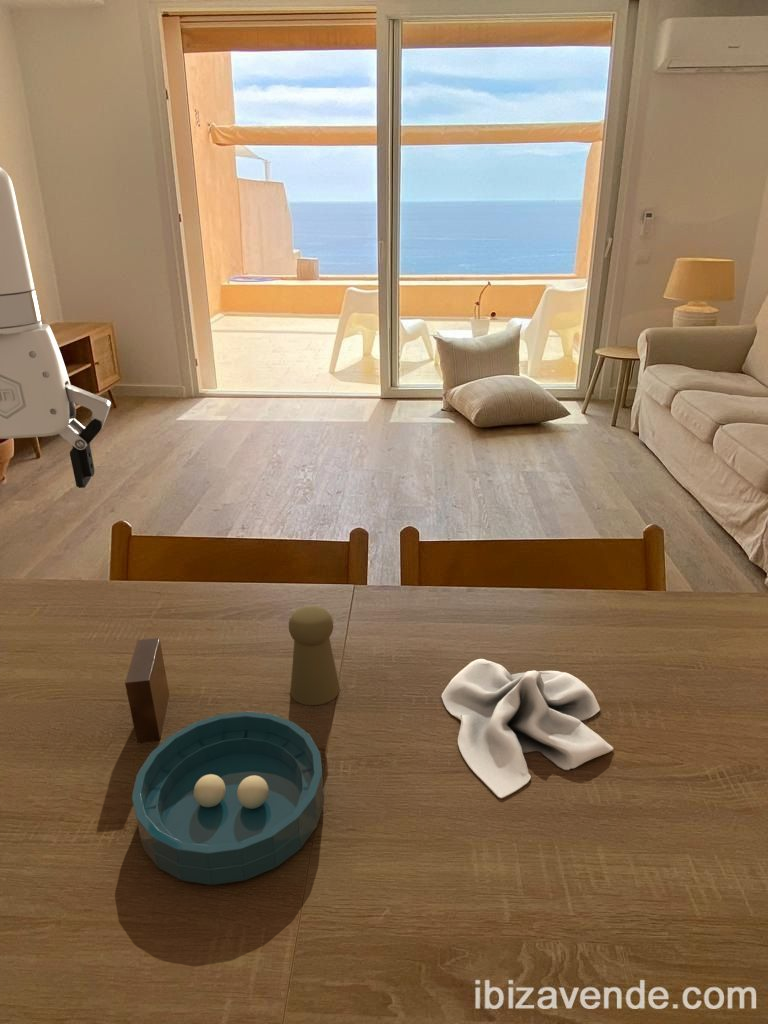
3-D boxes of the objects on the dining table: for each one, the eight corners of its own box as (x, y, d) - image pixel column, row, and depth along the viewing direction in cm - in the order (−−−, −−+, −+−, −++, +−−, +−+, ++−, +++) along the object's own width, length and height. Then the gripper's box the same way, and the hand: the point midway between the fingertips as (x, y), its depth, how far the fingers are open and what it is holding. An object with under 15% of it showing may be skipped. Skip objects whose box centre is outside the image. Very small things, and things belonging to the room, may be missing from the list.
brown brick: (137, 742, 77) (124, 682, 73) (148, 696, 84) (137, 639, 81) (160, 740, 77) (149, 680, 74) (169, 694, 84) (159, 637, 81)
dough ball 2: (276, 803, 67) (267, 774, 67) (247, 818, 65) (238, 788, 65) (266, 795, 70) (257, 767, 69) (238, 809, 68) (229, 780, 68)
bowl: (124, 902, 59) (115, 865, 57) (155, 754, 75) (148, 721, 73) (330, 873, 62) (328, 837, 60) (317, 735, 77) (315, 703, 76)
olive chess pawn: (281, 698, 83) (274, 621, 79) (303, 669, 88) (298, 595, 84) (327, 710, 81) (323, 631, 77) (347, 679, 86) (344, 603, 82)
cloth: (441, 661, 90) (442, 620, 87) (588, 666, 88) (593, 626, 86) (440, 795, 69) (442, 748, 67) (630, 806, 68) (639, 758, 65)
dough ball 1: (221, 798, 70) (194, 784, 69) (234, 776, 69) (207, 762, 69) (212, 819, 67) (184, 805, 66) (225, 797, 66) (197, 782, 66)
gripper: (-130, 322, 59) (-73, 506, 66) (83, 316, 61) (115, 494, 68) (-89, 310, 66) (-42, 478, 73) (101, 304, 68) (129, 468, 75)
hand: (34, 486), depth 71 cm, fingers open, 9 cm apart
